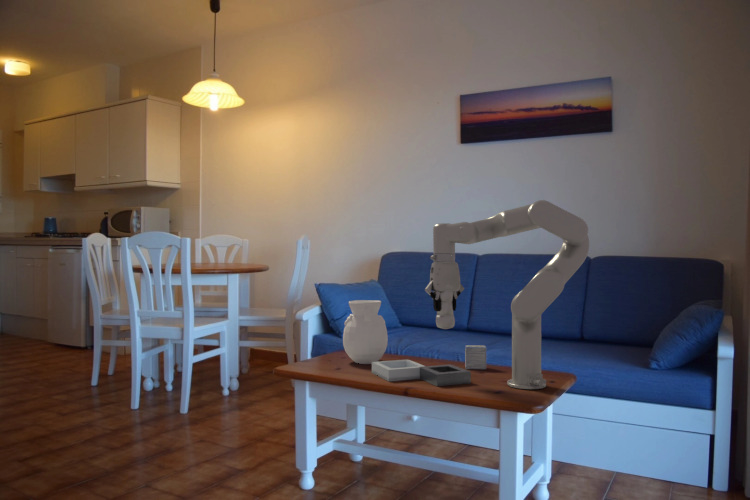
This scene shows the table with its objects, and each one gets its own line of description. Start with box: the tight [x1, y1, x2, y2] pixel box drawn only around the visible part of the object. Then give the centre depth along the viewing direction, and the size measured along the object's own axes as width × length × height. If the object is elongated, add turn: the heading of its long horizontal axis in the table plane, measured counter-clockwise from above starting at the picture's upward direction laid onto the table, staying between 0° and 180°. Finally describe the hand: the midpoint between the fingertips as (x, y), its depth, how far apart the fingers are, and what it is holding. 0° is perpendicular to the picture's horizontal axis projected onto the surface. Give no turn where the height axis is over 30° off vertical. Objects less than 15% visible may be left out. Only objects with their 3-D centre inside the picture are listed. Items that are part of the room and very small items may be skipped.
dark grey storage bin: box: [419, 363, 472, 387], centre depth 202 cm, size 14×13×4 cm
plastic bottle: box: [435, 284, 456, 330], centre depth 202 cm, size 6×7×20 cm
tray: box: [371, 359, 426, 382], centre depth 211 cm, size 16×15×4 cm
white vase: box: [342, 299, 389, 365], centre depth 237 cm, size 19×18×25 cm
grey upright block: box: [464, 344, 487, 370], centre depth 224 cm, size 8×4×9 cm, turn 84°
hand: (445, 310), depth 202 cm, fingers closed on plastic bottle, 5 cm apart
